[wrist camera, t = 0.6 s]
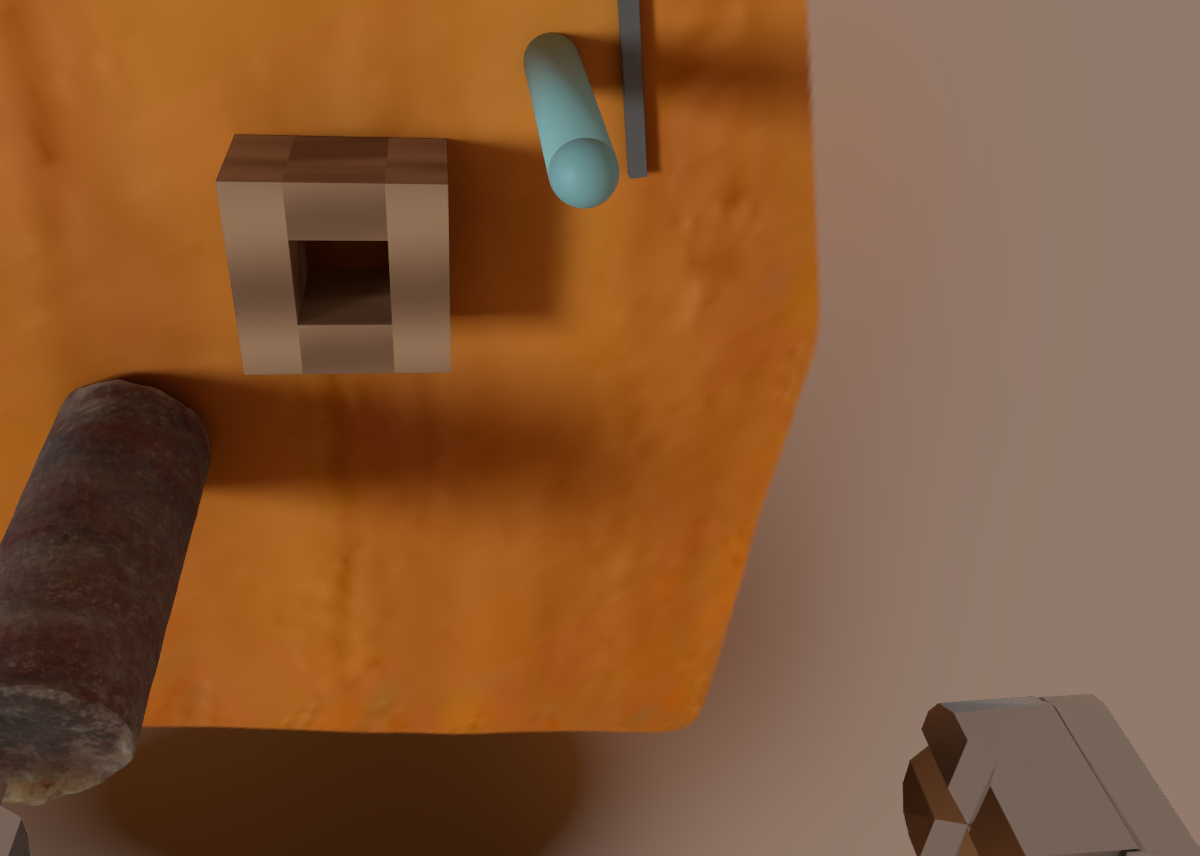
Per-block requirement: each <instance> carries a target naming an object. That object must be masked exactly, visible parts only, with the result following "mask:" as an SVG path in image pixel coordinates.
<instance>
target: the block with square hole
mask: <svg viewBox="0 0 1200 856" xmlns="http://www.w3.org/2000/svg"><path fill="white" fill-rule="evenodd" d="M216 188H217V195H218V201H219V208H220V215H221V221H222V228H223V235H224V241H225V248H226V255H227V261H228V268H229V275H230V281H231V288H232V295H233V301H234V308H235V315H236V321H237V328H238V334H239V341H240V348H241V354H242V361H243V368H244V374H245V375H266V374H353V373H440V372H451V339H450V277H449V214H448V167H447V139H432V138H380V137H328V136H275V135H234V137H233V140H232V142H231V145H230V147H229V150H228V152H227V154H226V157H225V159H224V162H223V164H222V167H221V169H220V172H219V174H218V177H217V179H216ZM305 240H326V241H388V254H389V271H308V262H307V253H306V243H305Z"/></svg>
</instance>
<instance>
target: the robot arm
mask: <svg viewBox="0 0 1200 856" xmlns="http://www.w3.org/2000/svg"><path fill="white" fill-rule="evenodd" d="M921 730H922V732H923V734H924V736H925V739H926V741H927V743H928V745H929V746H927V747H926V748H925V749H924V750H922V751H921V752H920V753H918V754H917V755H916V756H915V757H913V758H912V759H911V760H910V762H909V765H908V768H907V772H906V775H905V778H904V781H903V813H904V817H905V822H906V825H907V830H908V834H909V837H910V840H911V842H912V845H913V847H914V850H915V853H916V855H917V856H1200V846H1198V845H1197V844H1196V842H1195V840H1194V839H1193V837H1192V836H1191V834H1190V833H1189V831H1188V830H1187V828H1186V827H1185V825H1184V824H1183V822H1182V821H1181V819H1180V818H1179V816H1178V814H1177V813H1176V811H1175V810H1174V808H1173V807H1172V805H1171V804H1170V802H1169V801H1168V799H1167V798H1166V796H1165V795H1164V793H1163V792H1162V790H1161V789H1160V788H1159V785H1158V784H1157V782H1156V781H1155V780H1154V778H1153V776H1152V775H1151V773H1150V772H1149V770H1148V769H1147V767H1146V766H1145V764H1144V763H1143V761H1142V760H1141V758H1140V757H1139V755H1138V753H1137V752H1136V750H1135V749H1134V747H1133V746H1132V744H1131V743H1130V741H1129V740H1128V738H1127V737H1126V735H1125V734H1124V732H1123V731H1122V729H1121V728H1120V726H1119V725H1118V723H1117V722H1116V720H1115V719H1114V717H1113V716H1112V714H1111V712H1110V711H1109V709H1108V708H1107V706H1106V705H1105V704H1104V703H1103V702H1102V701H1100V700H1099V699H1098V698H1096V697H1095V696H1094V695H1092V694H1086V695H1067V696H1052V697H1051V696H1050V697H1039V698H1035V697H1033V696H1029V697H1015V698H1002V699H988V700H975V701H961V702H947V703H938V704H937V705H936V706H934V707H933V708H932V709H931V710H929V711H928V713H927V716H926V719H925V721H924V724H923V726H922V729H921ZM7 787H8V783H7V781H6V779H5V777H4V775H3V773H2V771H1V769H0V856H30V848H29V839H28V834H27V832H26V829H25V826H24V824H23V821H22V819H21V818H20V817H19V816H17V815H15V814H14V813H12V812H10V811H9V810H7V809H5V808H3V807H2V806H1V803H2V800H3V797H4V795H5V792H6V789H7Z"/></svg>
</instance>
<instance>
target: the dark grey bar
mask: <svg viewBox="0 0 1200 856" xmlns="http://www.w3.org/2000/svg"><path fill="white" fill-rule="evenodd" d="M618 12H619V29H620V46H621V63H622V81H623V98H624V115H625V132H626V149H627V166H628V175H629V178H630V179H631V178H639V177H647V161H646V140H645V119H644V98H643V76H642V55H641V34H640V13H639V0H618Z"/></svg>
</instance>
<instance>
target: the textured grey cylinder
mask: <svg viewBox="0 0 1200 856" xmlns="http://www.w3.org/2000/svg"><path fill="white" fill-rule="evenodd" d="M210 458H211V452H210V442H209V437H208V435H207V432H206V429H205V427H204V426H203V424H202V422H201V420H200V418H199V416H198V415H197V414H195V413H194V412H193V411H192V410H191V409H190V408H188V407H186V406H185V405H184V404H183V403H182V402H180V401H178V400H176V399H174V398H172V397H171V396H169V395H167V394H165V393H164V392H163V391H161V390H159V389H157V388H154V387H150V386H143V385H138V384H134V383H130V382H127V381H123V380H119V379H117V380H111V381H106V382H100V383H96V384H93V385H88V386H87V387H82V388H80V389H78V388H77V389H76V390H74V391H73V392H72V393H70V394H69V396H68V397H67V399H66V400H65V402H64V403H63V405H62V406H61V408H60V411H59V413H58V415H57V417H56V419H55V421H54V424H53V426H52V428H51V430H50V432H49V434H48V437H47V439H46V441H45V443H44V445H43V448H42V450H41V452H40V454H39V456H38V459H37V461H36V463H35V466H34V468H33V470H32V473H31V475H30V478H29V480H28V482H27V484H26V486H25V489H24V491H23V493H22V495H21V497H20V500H19V503H18V505H17V507H16V509H15V512H14V515H13V518H12V520H11V522H10V524H9V526H8V529H7V531H6V533H5V535H4V537H3V540H2V542H1V544H0V769H1V771H2V773H3V775H4V777H5V779H6V781H7V783H8V787H7V789H6V792H5V795H4V797H3V800H2V802H9V803H14V804H17V803H18V804H19V803H23V804H27V805H32V806H38V805H41V804H44V803H47V802H49V801H52V800H54V799H57V798H59V797H61V796H64V795H66V794H75V793H78V792H81V791H83V790H86V789H90V788H91V787H93V786H95V785H98V784H100V783H103V782H104V781H105V780H106V779H107V778H108V777H110V776H111V775H113V774H114V773H115V772H117V771H118V770H119V769H121V768H123V767H125V766H126V765H127V764H128V763H129V762H130V761H131V760H132V759H133V758H134V755H135V750H136V747H137V743H138V739H139V736H140V732H141V728H142V724H143V719H144V715H145V710H146V706H147V702H148V697H149V693H150V689H151V686H152V682H153V679H154V676H155V673H156V669H157V665H158V661H159V657H160V652H161V648H162V644H163V640H164V635H165V631H166V627H167V624H168V620H169V617H170V614H171V610H172V606H173V603H174V599H175V595H176V591H177V587H178V583H179V578H180V575H181V572H182V569H183V564H184V560H185V556H186V552H187V548H188V545H189V541H190V537H191V533H192V530H193V526H194V523H195V520H196V516H197V512H198V508H199V504H200V500H201V496H202V492H203V487H204V484H205V480H206V477H207V472H208V468H209V463H210Z"/></svg>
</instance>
